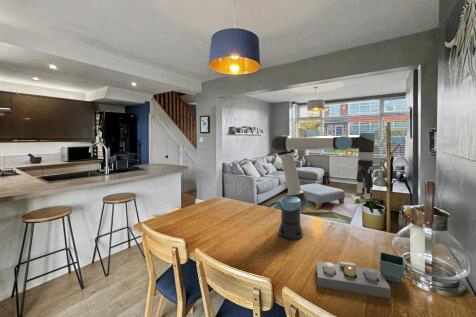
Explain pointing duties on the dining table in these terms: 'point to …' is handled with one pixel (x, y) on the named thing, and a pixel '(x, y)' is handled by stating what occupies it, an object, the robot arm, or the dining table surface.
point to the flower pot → (392, 267)
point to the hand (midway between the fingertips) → (363, 195)
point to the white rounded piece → (329, 268)
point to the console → (352, 281)
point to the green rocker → (346, 264)
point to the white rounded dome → (371, 274)
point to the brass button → (349, 271)
